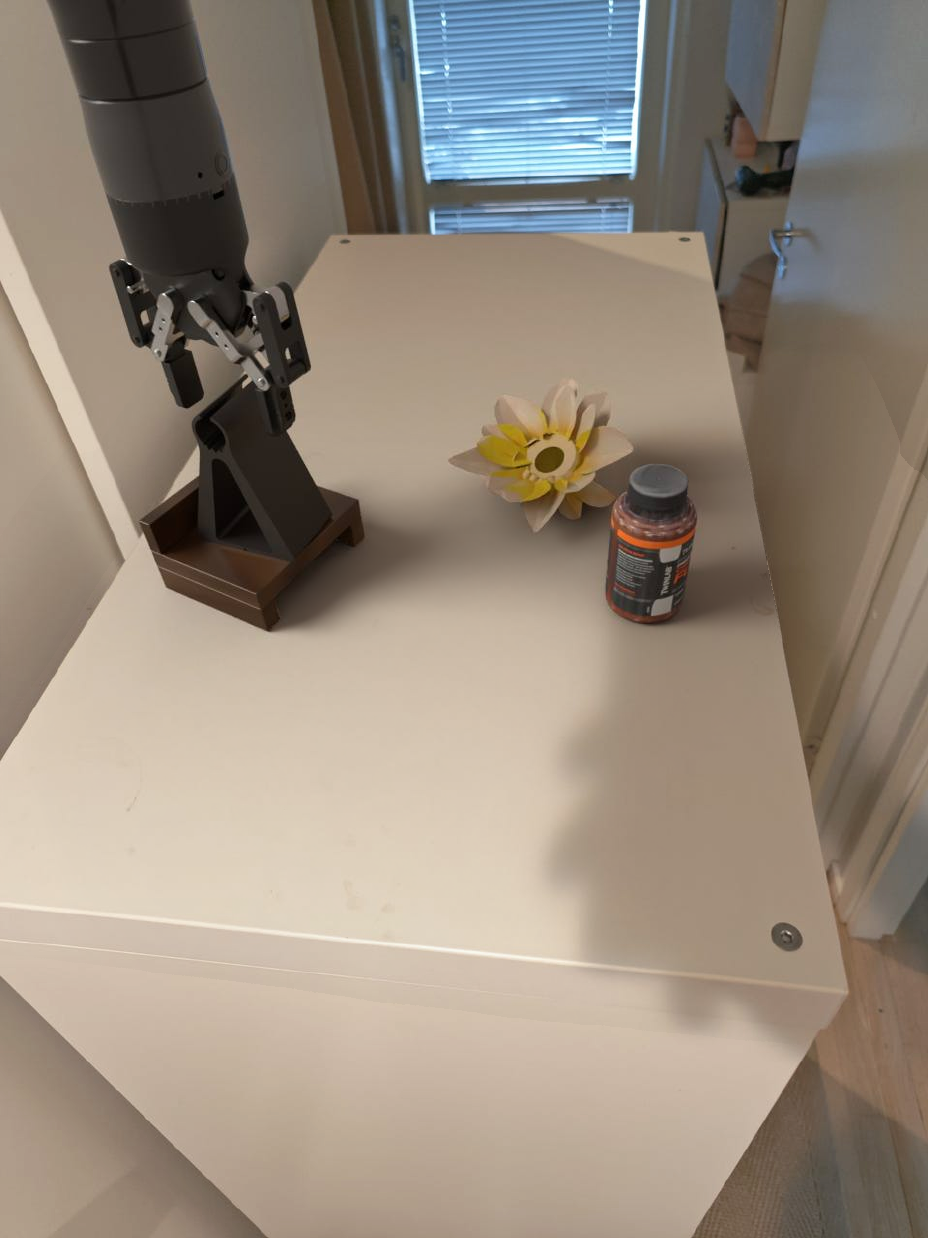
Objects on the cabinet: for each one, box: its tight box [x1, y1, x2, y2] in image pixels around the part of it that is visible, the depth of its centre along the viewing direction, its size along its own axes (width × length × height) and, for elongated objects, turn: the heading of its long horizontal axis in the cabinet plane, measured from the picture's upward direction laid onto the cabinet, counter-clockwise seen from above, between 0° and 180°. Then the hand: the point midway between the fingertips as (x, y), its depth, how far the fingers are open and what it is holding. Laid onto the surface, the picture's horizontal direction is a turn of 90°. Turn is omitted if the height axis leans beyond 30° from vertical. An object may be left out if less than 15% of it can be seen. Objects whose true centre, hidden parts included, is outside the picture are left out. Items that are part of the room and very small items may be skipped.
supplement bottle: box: [604, 463, 698, 624], centre depth 62 cm, size 6×6×11 cm
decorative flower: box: [447, 377, 634, 533], centre depth 73 cm, size 15×11×10 cm
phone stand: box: [191, 373, 332, 562], centre depth 64 cm, size 9×6×12 cm, turn 67°
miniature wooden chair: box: [138, 475, 366, 632], centre depth 69 cm, size 13×11×7 cm
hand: (235, 416), depth 61 cm, fingers open, 8 cm apart
